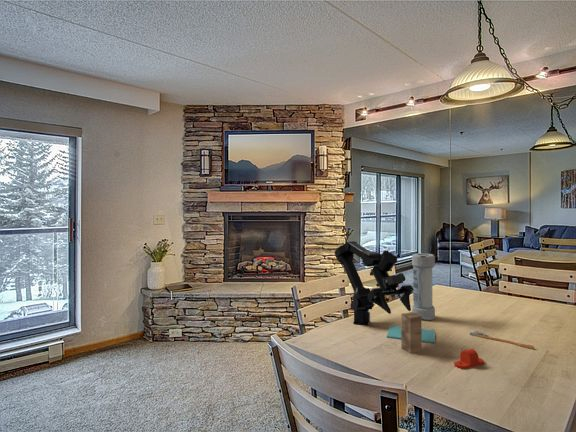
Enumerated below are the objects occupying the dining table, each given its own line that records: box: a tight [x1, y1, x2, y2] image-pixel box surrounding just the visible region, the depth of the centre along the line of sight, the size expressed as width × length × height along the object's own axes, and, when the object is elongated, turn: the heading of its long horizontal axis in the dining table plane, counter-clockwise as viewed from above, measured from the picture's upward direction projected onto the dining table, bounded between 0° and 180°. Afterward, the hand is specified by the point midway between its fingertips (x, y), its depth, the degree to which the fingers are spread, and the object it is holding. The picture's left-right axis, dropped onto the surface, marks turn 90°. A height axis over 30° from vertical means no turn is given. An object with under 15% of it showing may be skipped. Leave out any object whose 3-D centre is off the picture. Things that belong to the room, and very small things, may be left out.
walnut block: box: [400, 311, 423, 354], centre depth 131 cm, size 5×5×13 cm
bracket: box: [453, 348, 485, 370], centre depth 119 cm, size 12×4×5 cm, turn 114°
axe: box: [469, 330, 535, 350], centre depth 140 cm, size 22×6×2 cm, turn 44°
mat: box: [386, 325, 436, 344], centre depth 147 cm, size 18×14×1 cm
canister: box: [411, 252, 436, 322], centre depth 169 cm, size 10×10×30 cm
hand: (400, 312), depth 137 cm, fingers open, 9 cm apart
